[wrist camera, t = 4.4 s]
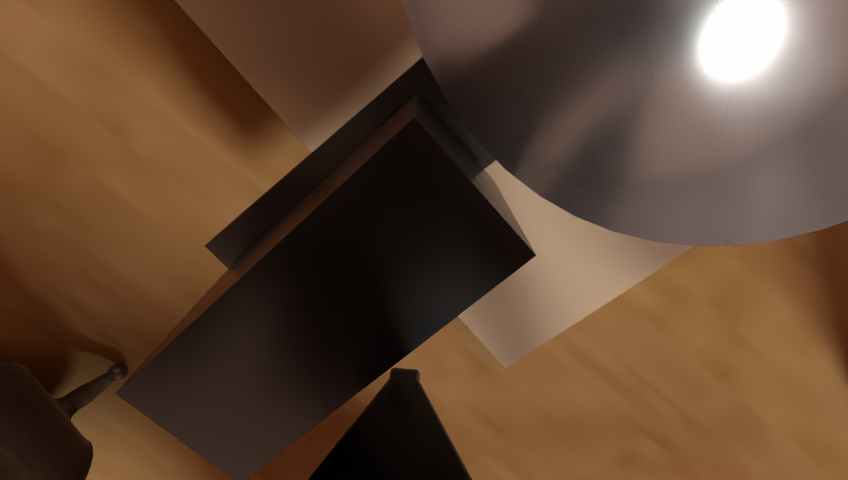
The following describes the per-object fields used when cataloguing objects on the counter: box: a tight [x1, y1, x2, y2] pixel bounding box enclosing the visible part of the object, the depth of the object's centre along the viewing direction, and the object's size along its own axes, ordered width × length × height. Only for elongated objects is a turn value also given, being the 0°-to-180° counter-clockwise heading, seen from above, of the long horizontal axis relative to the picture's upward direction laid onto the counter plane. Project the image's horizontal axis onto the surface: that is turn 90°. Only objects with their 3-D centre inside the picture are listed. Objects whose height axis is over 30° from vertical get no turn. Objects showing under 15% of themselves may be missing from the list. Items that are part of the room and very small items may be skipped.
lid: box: [116, 0, 848, 480], centre depth 7 cm, size 19×12×4 cm, turn 132°
